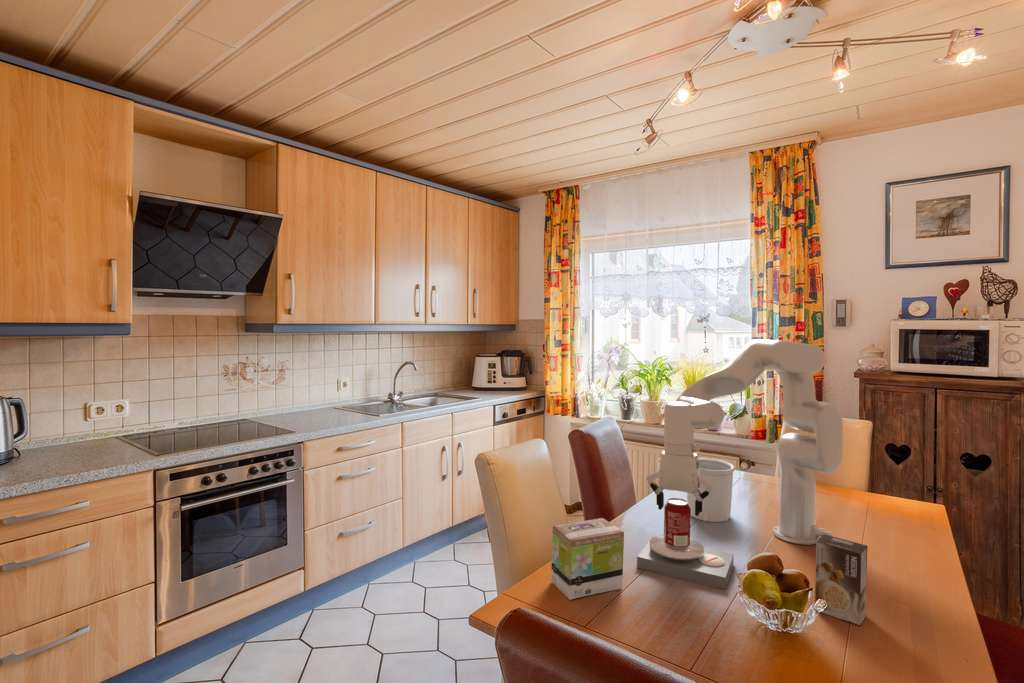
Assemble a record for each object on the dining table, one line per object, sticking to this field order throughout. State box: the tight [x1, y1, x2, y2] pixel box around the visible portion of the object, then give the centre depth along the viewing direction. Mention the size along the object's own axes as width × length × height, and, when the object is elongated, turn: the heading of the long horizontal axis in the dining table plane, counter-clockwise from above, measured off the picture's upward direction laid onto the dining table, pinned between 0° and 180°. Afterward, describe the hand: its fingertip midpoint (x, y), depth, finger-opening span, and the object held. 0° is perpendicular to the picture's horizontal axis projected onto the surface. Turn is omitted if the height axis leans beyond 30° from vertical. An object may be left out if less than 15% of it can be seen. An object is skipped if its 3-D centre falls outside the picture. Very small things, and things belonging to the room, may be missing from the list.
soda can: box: [663, 497, 692, 549], centre depth 142 cm, size 7×7×12 cm
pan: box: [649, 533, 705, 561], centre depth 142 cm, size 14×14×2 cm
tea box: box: [550, 517, 625, 601], centre depth 130 cm, size 15×10×15 cm, turn 114°
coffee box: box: [814, 534, 868, 626], centre depth 119 cm, size 9×6×16 cm
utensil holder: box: [686, 457, 735, 523], centre depth 177 cm, size 15×15×18 cm
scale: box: [636, 536, 735, 590], centre depth 141 cm, size 22×15×4 cm
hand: (679, 511), depth 142 cm, fingers open, 9 cm apart
